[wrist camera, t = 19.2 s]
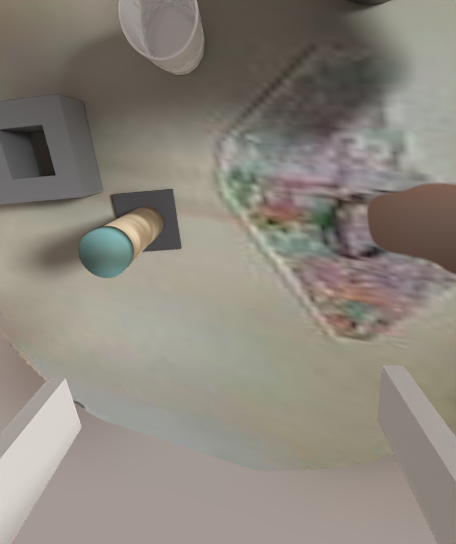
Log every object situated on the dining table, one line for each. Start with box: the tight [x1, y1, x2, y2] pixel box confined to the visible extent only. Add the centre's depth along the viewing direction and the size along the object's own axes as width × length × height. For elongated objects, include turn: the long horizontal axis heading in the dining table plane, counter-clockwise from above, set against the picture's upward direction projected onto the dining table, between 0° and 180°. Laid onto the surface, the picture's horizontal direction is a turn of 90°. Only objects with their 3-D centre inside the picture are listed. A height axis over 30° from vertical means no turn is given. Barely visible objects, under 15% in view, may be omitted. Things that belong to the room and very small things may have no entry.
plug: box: [79, 206, 164, 278], centre depth 40 cm, size 5×5×16 cm
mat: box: [112, 189, 181, 252], centre depth 48 cm, size 9×9×1 cm
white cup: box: [118, 0, 205, 75], centre depth 35 cm, size 8×8×10 cm
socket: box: [0, 94, 103, 205], centre depth 43 cm, size 12×12×6 cm
